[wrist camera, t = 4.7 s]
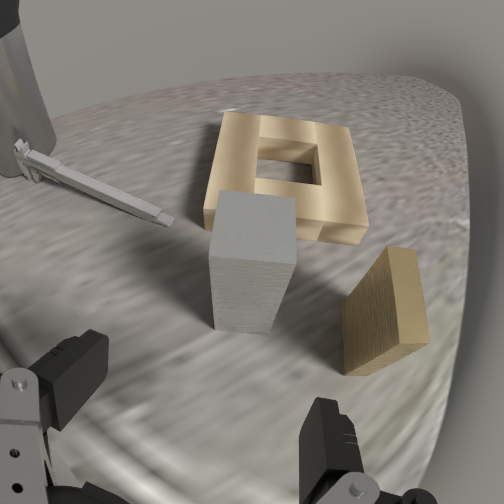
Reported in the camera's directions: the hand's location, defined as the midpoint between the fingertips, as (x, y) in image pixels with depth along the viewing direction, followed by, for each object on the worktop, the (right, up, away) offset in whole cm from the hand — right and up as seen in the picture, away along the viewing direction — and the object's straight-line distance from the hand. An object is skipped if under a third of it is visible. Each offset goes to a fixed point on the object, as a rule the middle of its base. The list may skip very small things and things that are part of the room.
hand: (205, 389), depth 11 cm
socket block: (+5, +12, +22) cm, 25 cm away
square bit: (+1, +1, +14) cm, 14 cm away
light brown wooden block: (+10, -2, +13) cm, 17 cm away
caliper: (-15, +10, +19) cm, 27 cm away
